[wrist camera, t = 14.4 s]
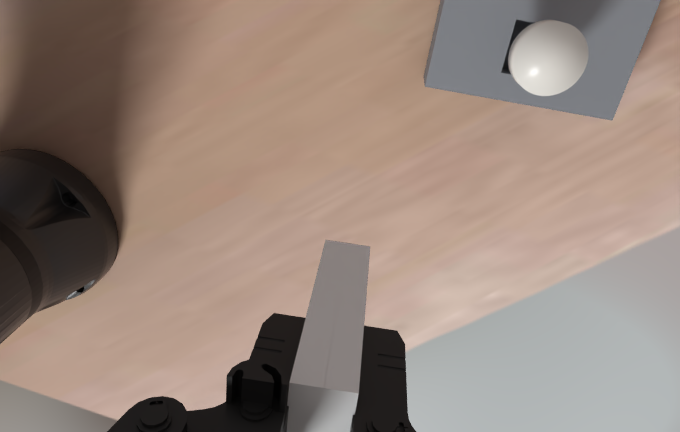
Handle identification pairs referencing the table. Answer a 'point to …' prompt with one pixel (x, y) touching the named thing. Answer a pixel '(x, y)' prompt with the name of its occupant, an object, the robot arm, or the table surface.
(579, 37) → the plunger
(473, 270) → the table surface
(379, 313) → the table surface
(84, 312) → the table surface
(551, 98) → the console
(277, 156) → the table surface
